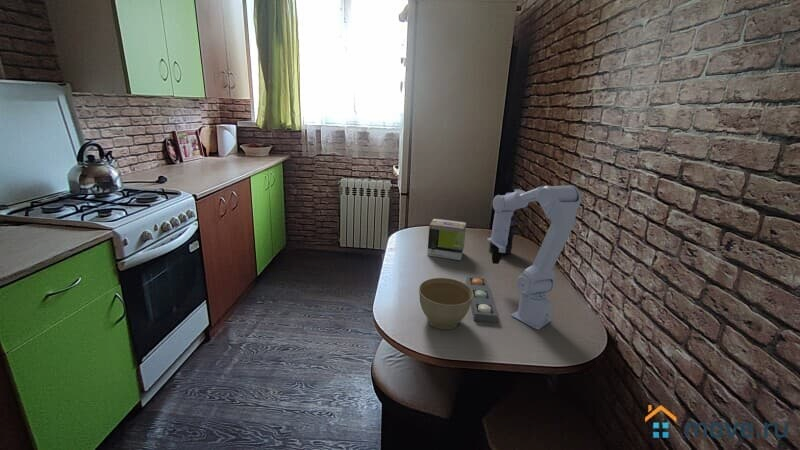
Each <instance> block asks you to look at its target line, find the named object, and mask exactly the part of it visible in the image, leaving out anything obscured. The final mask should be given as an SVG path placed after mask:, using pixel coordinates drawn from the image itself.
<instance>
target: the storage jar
mask: <svg viewBox="0 0 800 450" xmlns="http://www.w3.org/2000/svg"><path fill="white" fill-rule="evenodd" d="M516 223H517V222H515V221H514V220H512V219H511V222H510V227H509V233H508V239H507V240H508V243H507V245H506V248H507V250H506V251H505V253H504V254H503V255H502V257H501V258H505V257H510V256H511V253H512V249H513V239H514V235H515V232H516V225H517V224H516ZM491 227H492V228H493V226H491ZM492 228H491V229H492ZM489 243H492V242H489ZM489 253H490V254H491V255H492V252H491V247H490V246H489Z"/></svg>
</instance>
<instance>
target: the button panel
mask: <svg viewBox="0 0 800 450" xmlns="http://www.w3.org/2000/svg"><path fill="white" fill-rule="evenodd" d="M474 278H478V279H481V280H482V281H483V285H472V279H474ZM465 281H466V282H465V284H466V285H468V286H469V287H470V288H471V290H472V292H473V298H472V300H471V305H470V309H471V313H472V317H473V321H476V322H484V323H485V322H486V323H487V322H488V323H497V322H498V316H499V315H498V313H497V309H496V307H495V303H494V300H493V296H492V294H491V291H490V288H489V285H488V281H487V279H486V277H476V276H466V279H465ZM477 290H481V291H484V292H486V293H487V297H486V298H476V297H474V296H475V291H477ZM480 304H486V305H488V306H490V307H491V313H481V312H478V306H479V305H480Z"/></svg>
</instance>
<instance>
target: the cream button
mask: <svg viewBox="0 0 800 450" xmlns="http://www.w3.org/2000/svg"><path fill="white" fill-rule="evenodd" d="M478 312H481V313H491V307H490V306H488V305H486V304H480V305H479V306H478Z"/></svg>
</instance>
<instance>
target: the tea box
mask: <svg viewBox="0 0 800 450" xmlns="http://www.w3.org/2000/svg"><path fill="white" fill-rule="evenodd" d="M428 227H429V229H428V239H427V241H428V242H427V252H426V253H427V254H426V255H427V256H430V257H437V258H444V259H451V260H456V261H461V260H462V257H463V253H464V247H465V238H466V230H467V229H466V228H467V222H465V221H459V220H458V221H457V220H449V219H442V218H441V219H440V218H433V219H432V220H431V222H430V223H429V226H428Z"/></svg>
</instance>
